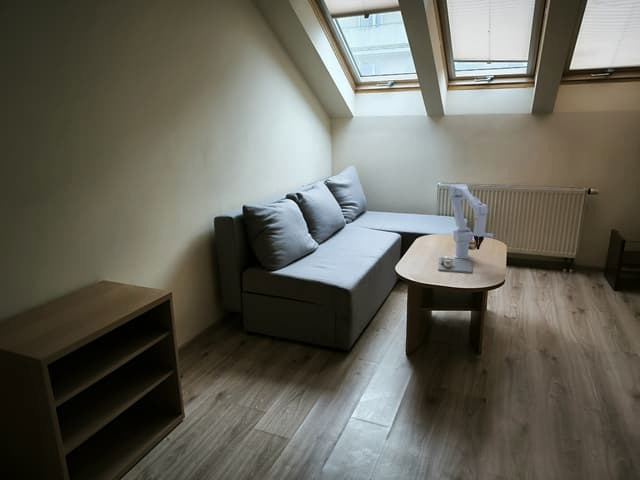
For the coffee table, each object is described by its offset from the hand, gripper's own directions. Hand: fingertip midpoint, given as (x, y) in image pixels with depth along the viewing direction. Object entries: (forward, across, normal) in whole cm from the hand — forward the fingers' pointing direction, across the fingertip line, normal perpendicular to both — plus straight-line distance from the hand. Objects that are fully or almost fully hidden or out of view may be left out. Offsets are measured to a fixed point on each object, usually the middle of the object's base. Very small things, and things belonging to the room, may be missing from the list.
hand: (477, 249), depth 256 cm
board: (+9, -12, -6) cm, 16 cm away
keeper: (+8, -17, -7) cm, 20 cm away
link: (+8, -16, -5) cm, 19 cm away
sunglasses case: (+10, -2, +39) cm, 40 cm away
